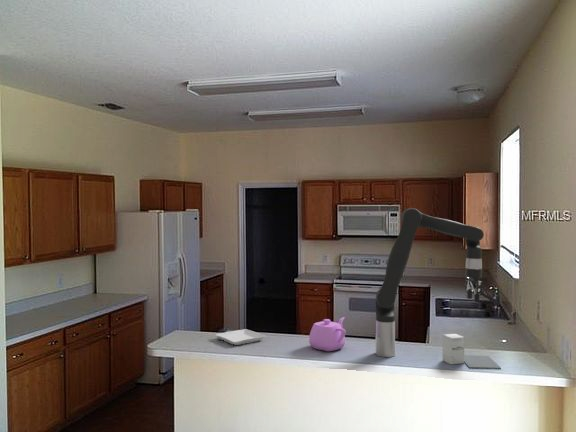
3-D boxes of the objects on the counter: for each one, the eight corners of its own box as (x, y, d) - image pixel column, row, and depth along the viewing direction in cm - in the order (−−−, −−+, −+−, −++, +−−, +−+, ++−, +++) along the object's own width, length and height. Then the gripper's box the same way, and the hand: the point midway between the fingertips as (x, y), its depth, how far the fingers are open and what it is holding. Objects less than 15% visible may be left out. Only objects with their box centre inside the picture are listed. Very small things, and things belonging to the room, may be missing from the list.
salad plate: (245, 333, 288) (245, 328, 288) (266, 341, 271) (266, 335, 271) (214, 340, 275) (214, 333, 275) (234, 348, 258) (234, 342, 258)
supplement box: (451, 365, 228) (451, 338, 228) (442, 360, 235) (442, 334, 235) (464, 363, 230) (464, 336, 230) (455, 358, 237) (455, 333, 237)
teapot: (334, 356, 242) (334, 326, 242) (304, 347, 257) (304, 319, 257) (362, 347, 258) (362, 318, 258) (332, 339, 273) (332, 312, 273)
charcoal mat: (469, 368, 223) (469, 367, 223) (459, 356, 241) (459, 355, 241) (500, 369, 222) (500, 367, 222) (488, 356, 240) (488, 355, 240)
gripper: (460, 265, 246) (459, 297, 247) (472, 269, 232) (471, 303, 233) (475, 265, 247) (474, 297, 247) (487, 269, 233) (487, 303, 233)
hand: (473, 300), depth 240 cm, fingers open, 8 cm apart
